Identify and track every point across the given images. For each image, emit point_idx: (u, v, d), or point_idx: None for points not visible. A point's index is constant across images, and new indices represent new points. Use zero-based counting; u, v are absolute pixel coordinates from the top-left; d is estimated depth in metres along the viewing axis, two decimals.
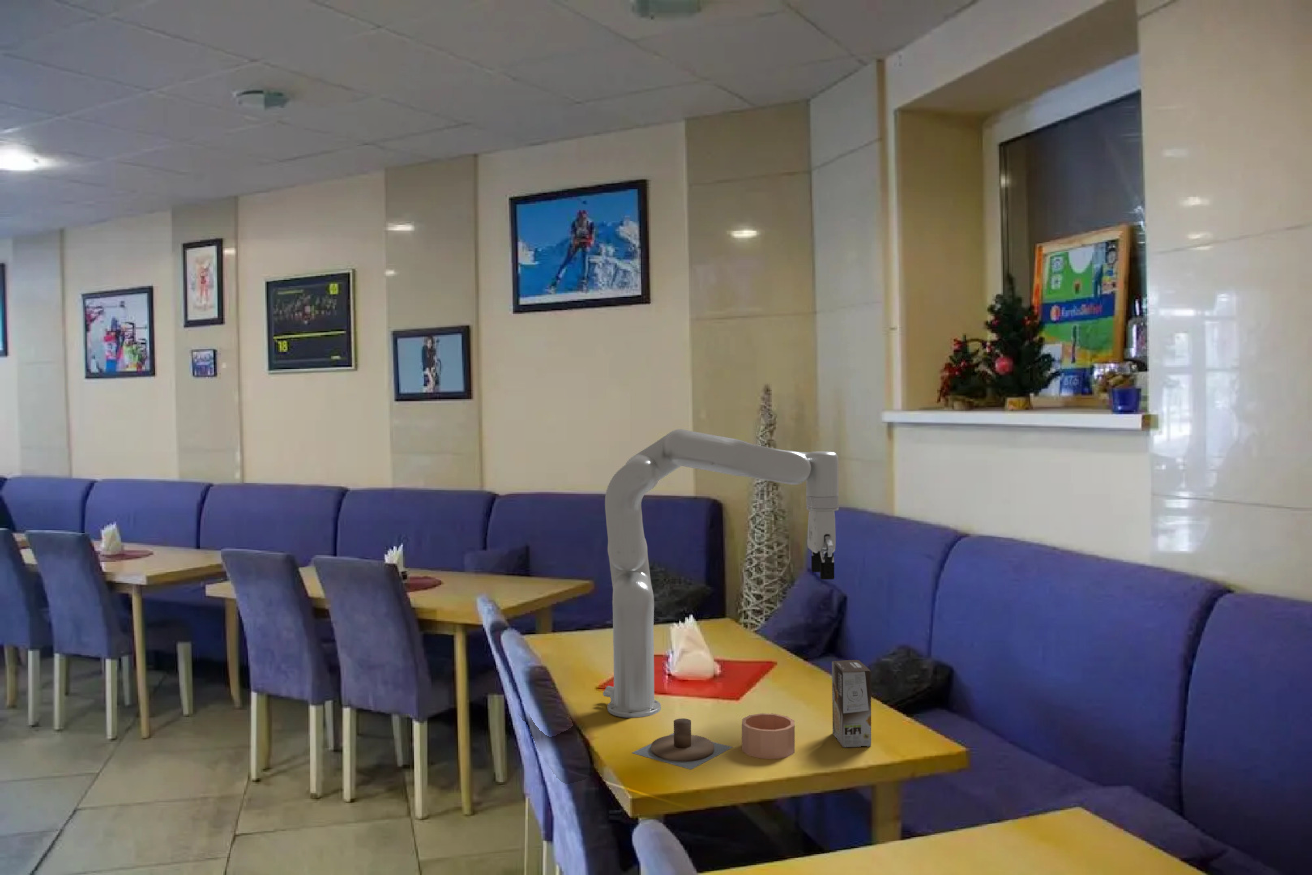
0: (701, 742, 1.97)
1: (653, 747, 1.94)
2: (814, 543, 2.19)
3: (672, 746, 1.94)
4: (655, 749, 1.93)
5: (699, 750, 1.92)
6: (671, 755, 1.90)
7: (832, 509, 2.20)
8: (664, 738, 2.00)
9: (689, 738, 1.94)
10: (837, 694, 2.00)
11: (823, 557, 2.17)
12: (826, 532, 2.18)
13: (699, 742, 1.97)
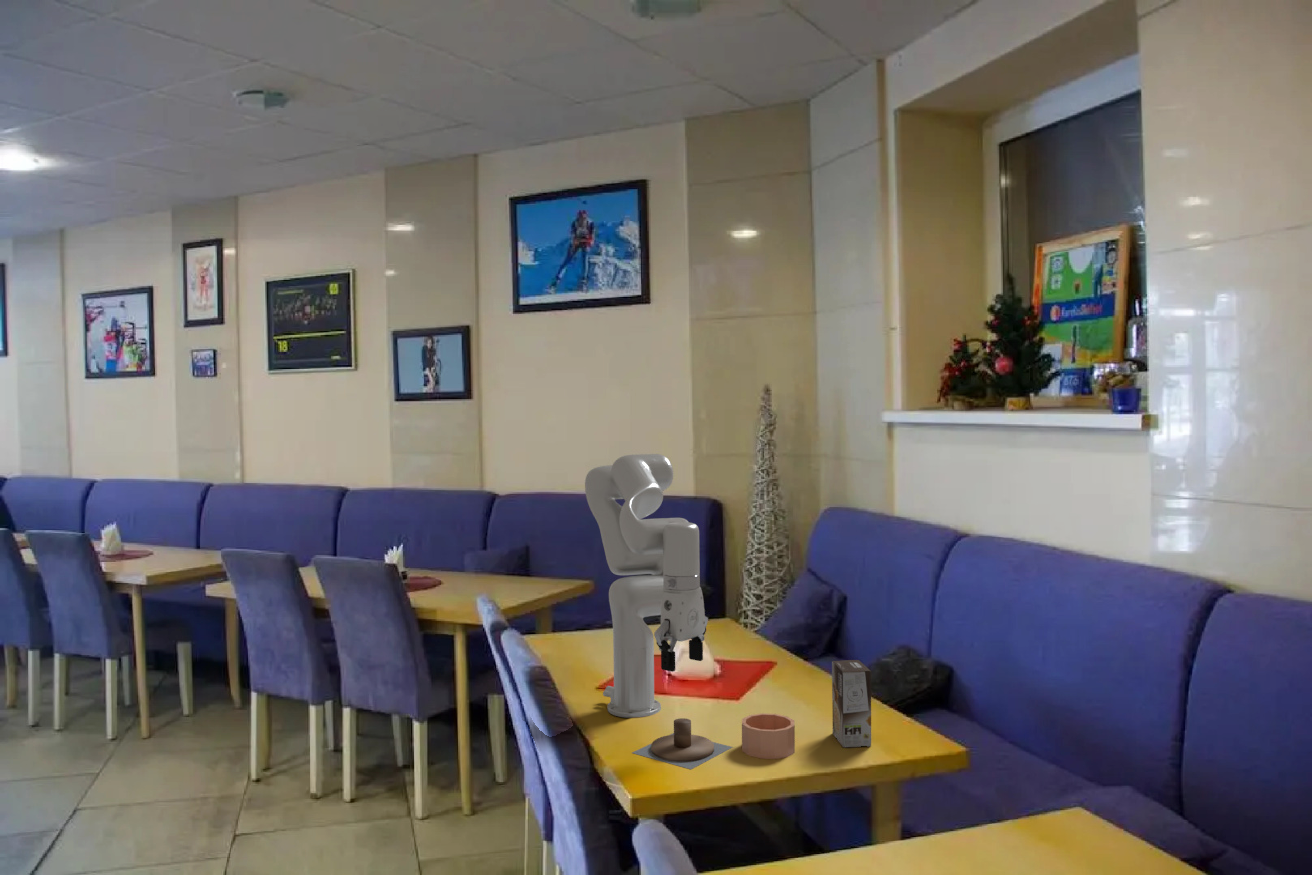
0: (701, 741, 1.97)
1: (653, 747, 1.94)
2: (703, 623, 1.96)
3: (672, 746, 1.94)
4: (655, 749, 1.93)
5: (699, 750, 1.92)
6: (671, 755, 1.90)
7: None
8: (664, 738, 2.00)
9: (689, 738, 1.94)
10: (837, 694, 2.00)
11: None
12: None
13: (698, 742, 1.97)
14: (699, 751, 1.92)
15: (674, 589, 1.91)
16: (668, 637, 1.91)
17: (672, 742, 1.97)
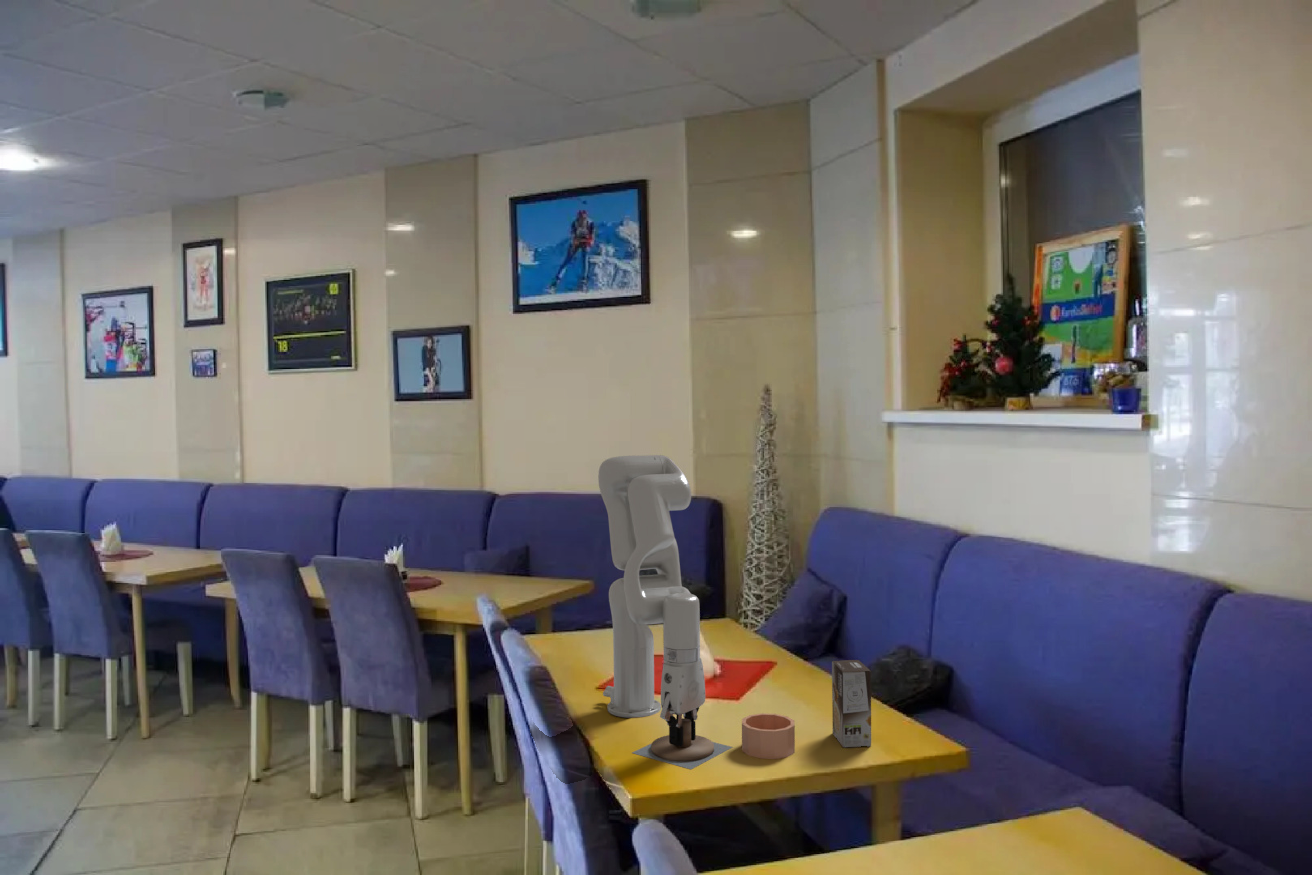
0: (701, 741, 1.97)
1: (653, 747, 1.94)
2: (703, 694, 1.96)
3: (672, 746, 1.94)
4: (655, 749, 1.93)
5: (699, 750, 1.92)
6: (671, 755, 1.90)
7: None
8: (664, 738, 1.99)
9: (689, 738, 1.94)
10: (837, 694, 2.00)
11: None
12: None
13: (698, 742, 1.97)
14: (699, 751, 1.92)
15: (674, 662, 1.91)
16: (673, 713, 1.93)
17: None
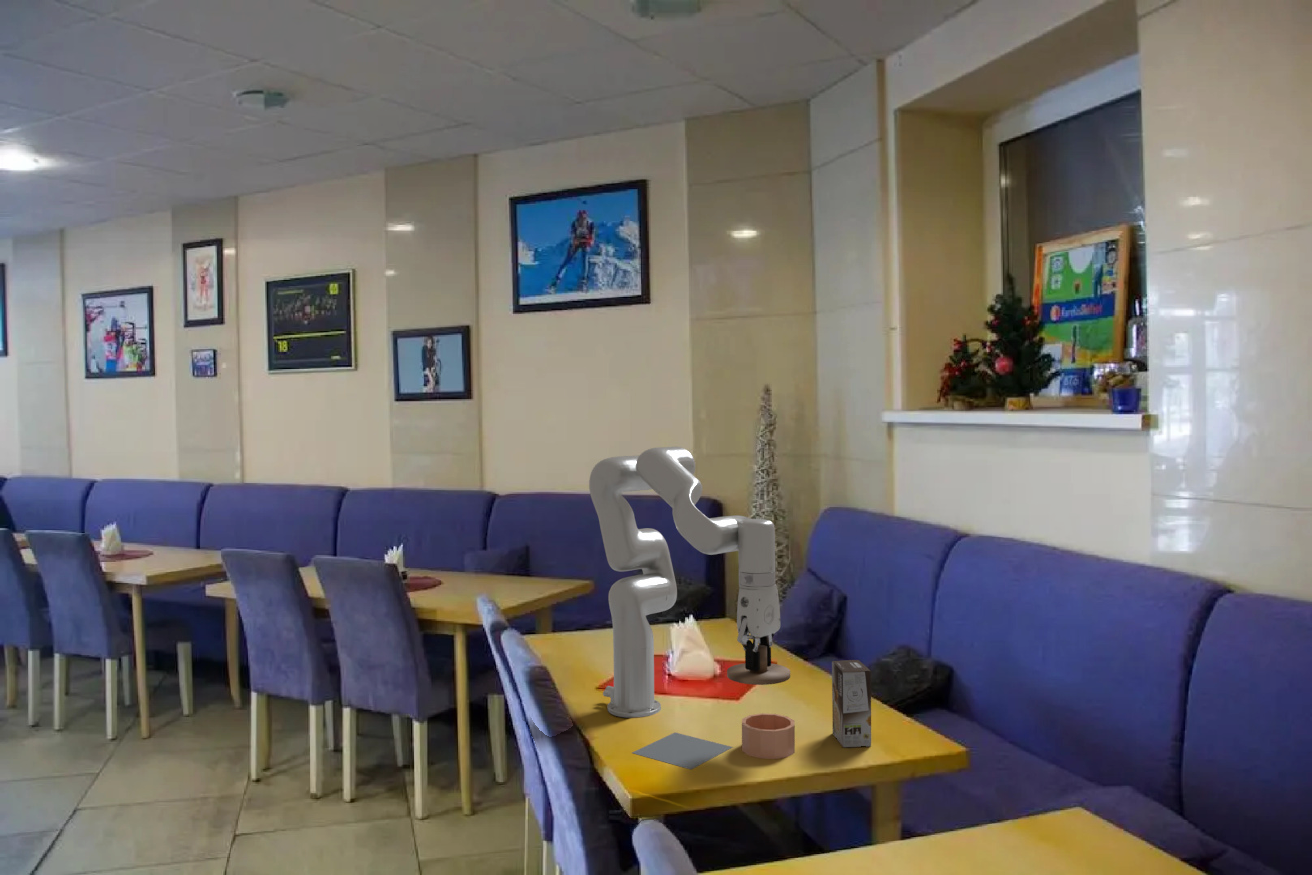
0: (777, 668, 1.96)
1: (729, 672, 1.94)
2: (778, 620, 1.96)
3: (748, 672, 1.94)
4: (732, 674, 1.92)
5: (776, 675, 1.91)
6: (749, 678, 1.89)
7: None
8: (738, 665, 1.99)
9: (765, 663, 1.94)
10: (837, 694, 2.00)
11: None
12: None
13: (774, 668, 1.96)
14: (776, 675, 1.91)
15: (751, 586, 1.91)
16: (749, 637, 1.92)
17: None
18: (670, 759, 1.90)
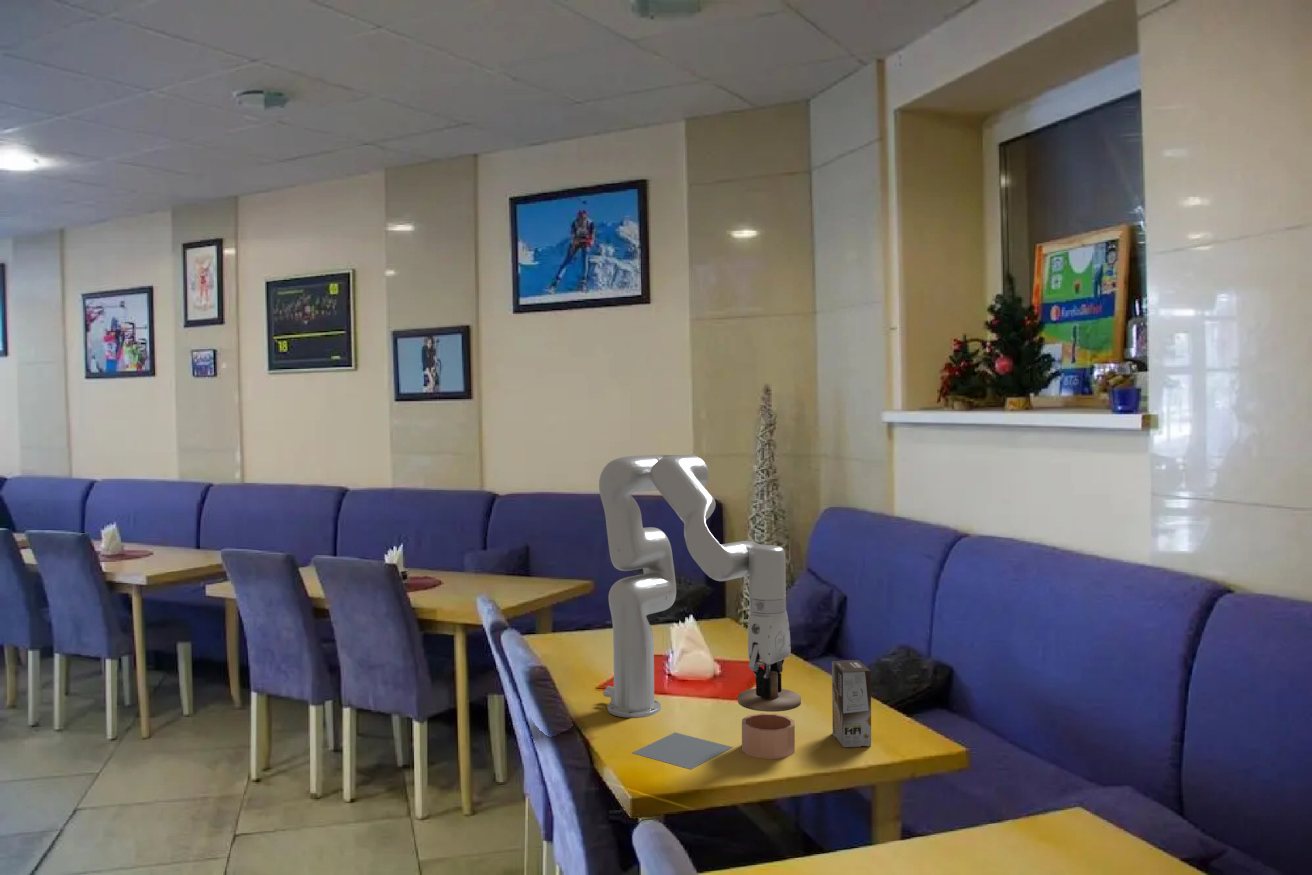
0: (787, 694, 1.97)
1: (740, 699, 1.94)
2: (788, 646, 1.96)
3: (759, 698, 1.94)
4: (743, 700, 1.93)
5: (787, 701, 1.92)
6: (761, 705, 1.89)
7: None
8: (748, 691, 1.99)
9: (776, 689, 1.94)
10: (837, 694, 2.00)
11: None
12: None
13: (784, 694, 1.97)
14: (787, 702, 1.91)
15: (762, 612, 1.91)
16: (760, 664, 1.93)
17: None
18: (670, 759, 1.90)
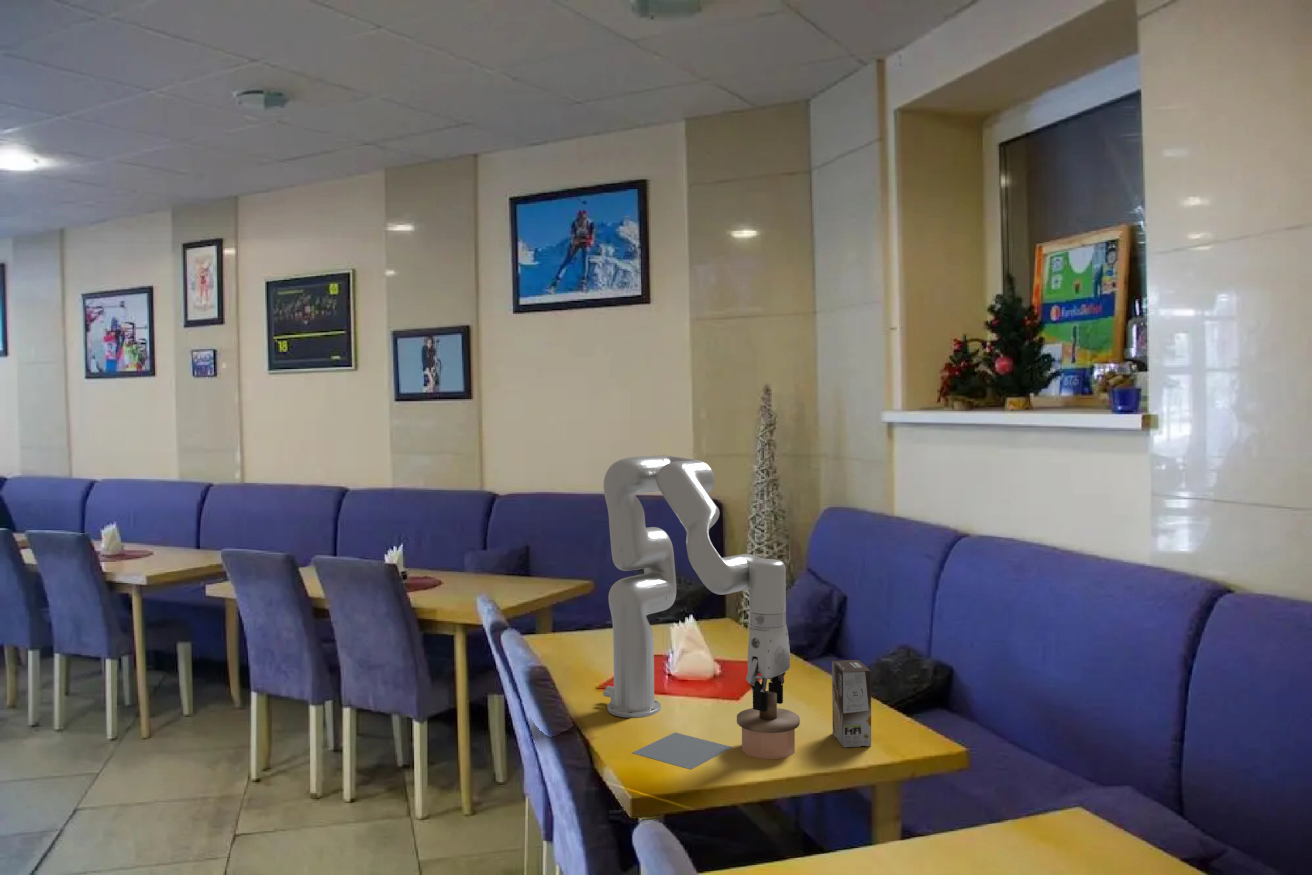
0: (786, 714, 1.97)
1: (739, 719, 1.94)
2: (788, 660, 1.96)
3: (758, 718, 1.94)
4: (742, 721, 1.93)
5: (786, 722, 1.92)
6: (759, 726, 1.90)
7: None
8: (747, 710, 1.99)
9: (775, 710, 1.94)
10: (837, 694, 2.00)
11: None
12: None
13: (783, 714, 1.97)
14: (786, 723, 1.92)
15: (762, 627, 1.91)
16: (758, 677, 1.92)
17: (757, 714, 1.97)
18: (670, 759, 1.90)
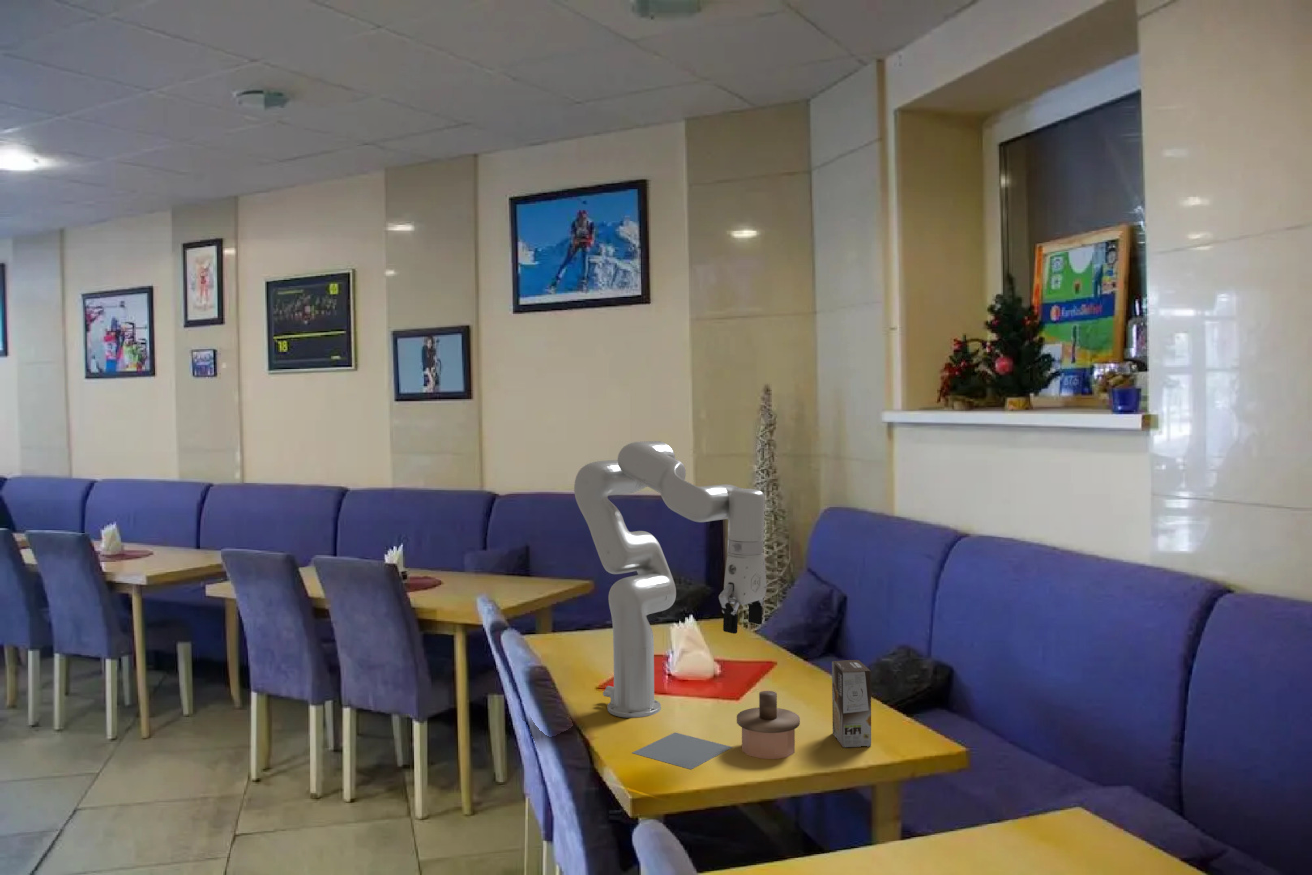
0: (786, 714, 1.97)
1: (739, 719, 1.94)
2: (764, 588, 2.00)
3: (758, 718, 1.94)
4: (742, 721, 1.93)
5: (786, 722, 1.92)
6: (759, 726, 1.90)
7: None
8: (747, 710, 1.99)
9: (775, 710, 1.94)
10: (837, 694, 2.00)
11: None
12: None
13: (783, 714, 1.97)
14: (786, 723, 1.92)
15: (739, 554, 1.95)
16: (731, 600, 1.95)
17: (757, 714, 1.97)
18: (670, 759, 1.90)
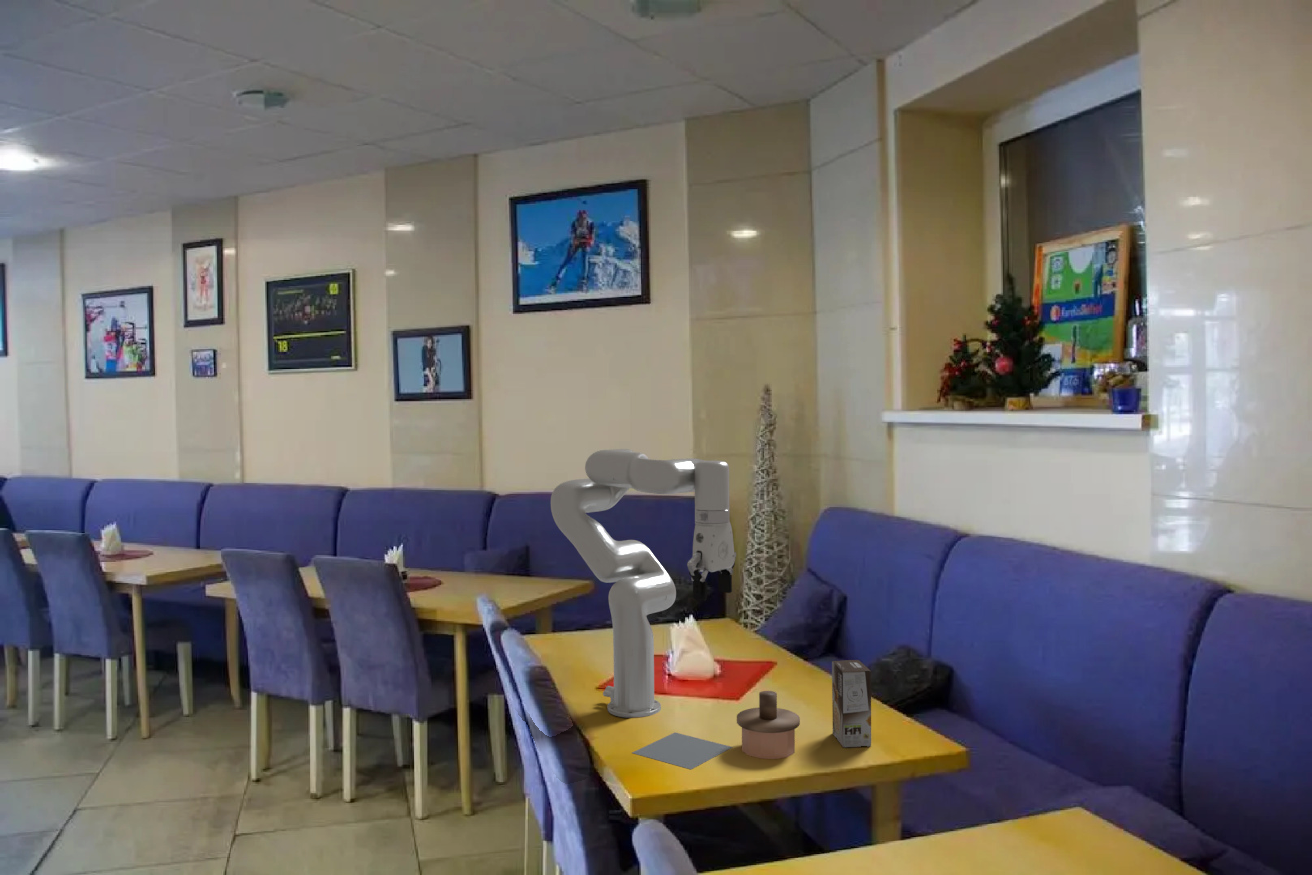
0: (786, 714, 1.97)
1: (739, 719, 1.94)
2: (732, 557, 2.06)
3: (758, 718, 1.94)
4: (742, 721, 1.93)
5: (786, 722, 1.92)
6: (759, 726, 1.90)
7: None
8: (747, 710, 1.99)
9: (775, 710, 1.94)
10: (837, 694, 2.00)
11: None
12: None
13: (783, 714, 1.97)
14: (786, 723, 1.92)
15: (706, 522, 2.01)
16: (700, 568, 2.02)
17: (757, 714, 1.97)
18: (670, 759, 1.90)
